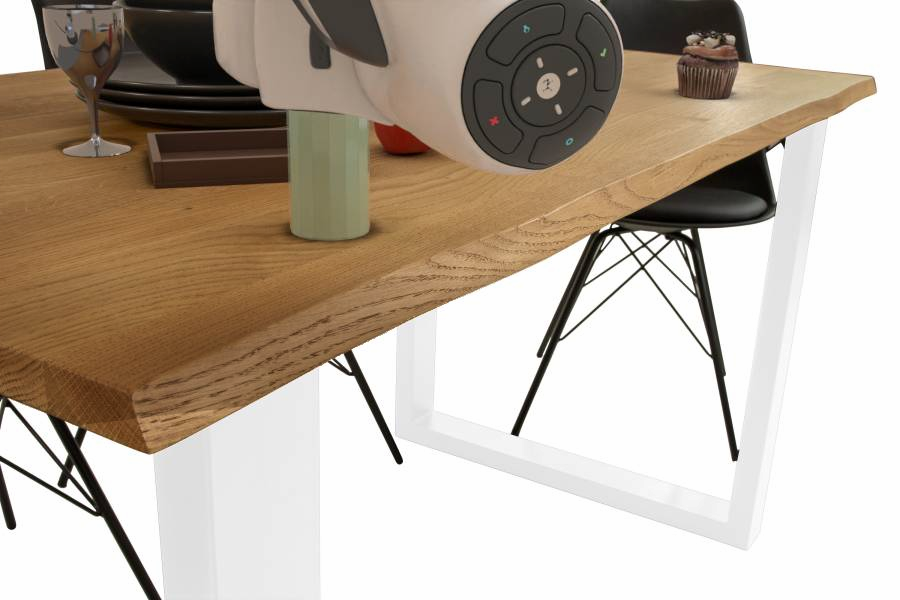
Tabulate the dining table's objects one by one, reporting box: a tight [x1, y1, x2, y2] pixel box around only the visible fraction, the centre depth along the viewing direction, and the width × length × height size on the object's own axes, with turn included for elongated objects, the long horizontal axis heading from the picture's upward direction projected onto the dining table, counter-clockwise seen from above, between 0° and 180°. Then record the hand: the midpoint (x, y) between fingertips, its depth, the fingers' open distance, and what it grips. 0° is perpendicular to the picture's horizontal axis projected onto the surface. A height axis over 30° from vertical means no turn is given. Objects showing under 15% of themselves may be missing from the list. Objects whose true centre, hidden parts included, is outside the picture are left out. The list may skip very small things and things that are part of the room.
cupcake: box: [675, 29, 740, 100], centre depth 158 cm, size 10×10×10 cm
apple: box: [372, 121, 432, 155], centre depth 111 cm, size 8×8×11 cm
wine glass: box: [42, 4, 132, 158], centre depth 107 cm, size 8×8×15 cm
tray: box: [146, 127, 289, 190], centre depth 103 cm, size 20×15×3 cm
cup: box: [285, 109, 371, 241], centre depth 79 cm, size 6×6×11 cm
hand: (364, 20), depth 64 cm, fingers open, 8 cm apart
